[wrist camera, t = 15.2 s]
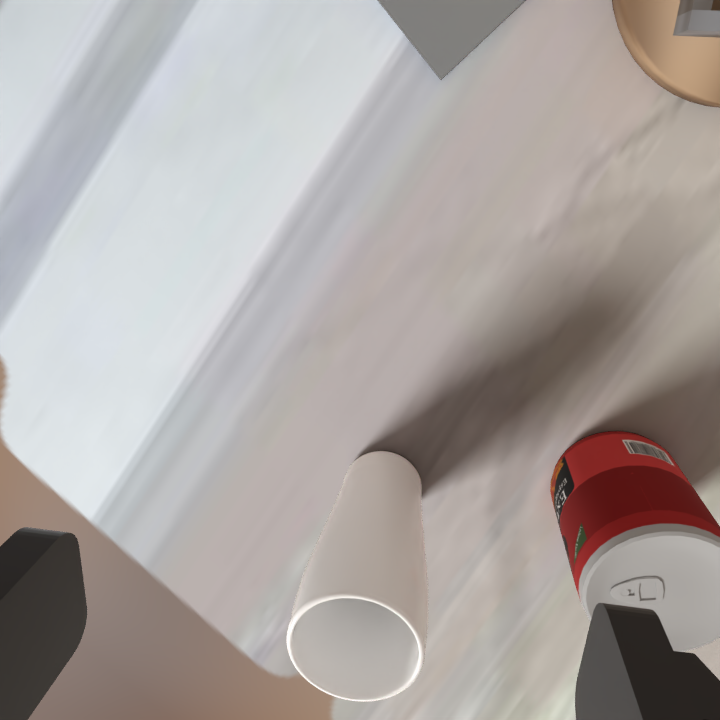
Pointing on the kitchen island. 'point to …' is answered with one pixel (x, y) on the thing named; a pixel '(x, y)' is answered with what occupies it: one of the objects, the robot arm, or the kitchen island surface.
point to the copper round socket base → (675, 44)
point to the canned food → (639, 534)
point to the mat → (448, 26)
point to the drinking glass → (365, 586)
